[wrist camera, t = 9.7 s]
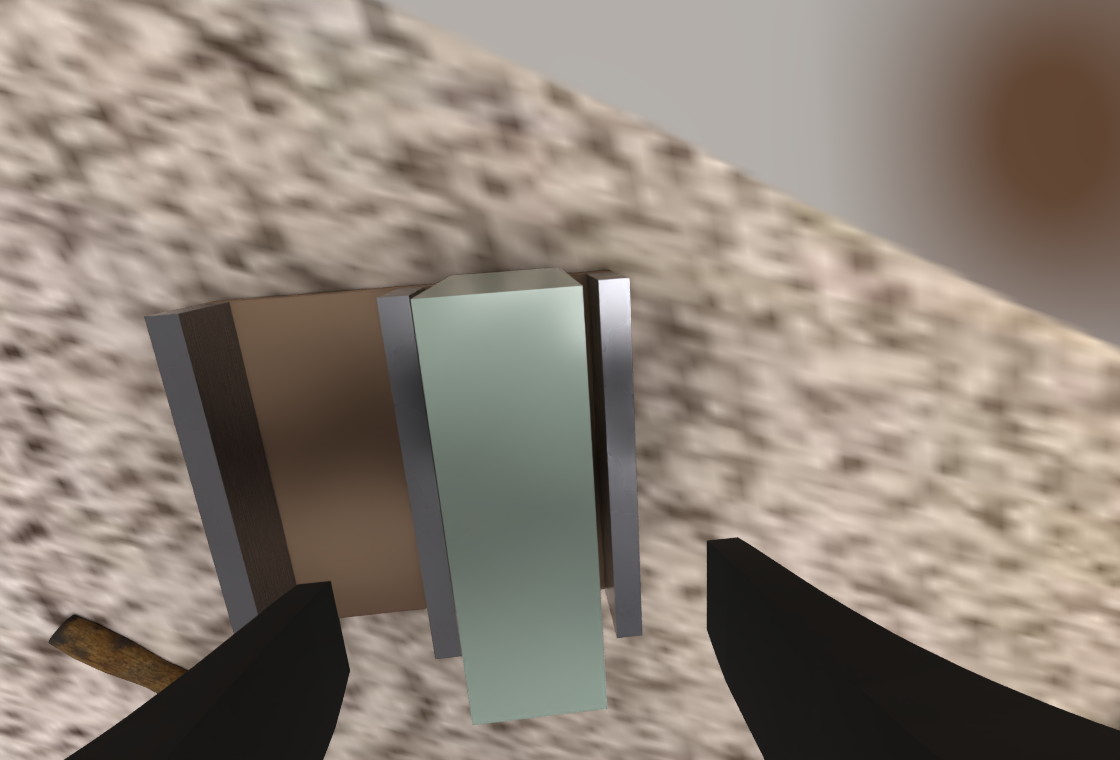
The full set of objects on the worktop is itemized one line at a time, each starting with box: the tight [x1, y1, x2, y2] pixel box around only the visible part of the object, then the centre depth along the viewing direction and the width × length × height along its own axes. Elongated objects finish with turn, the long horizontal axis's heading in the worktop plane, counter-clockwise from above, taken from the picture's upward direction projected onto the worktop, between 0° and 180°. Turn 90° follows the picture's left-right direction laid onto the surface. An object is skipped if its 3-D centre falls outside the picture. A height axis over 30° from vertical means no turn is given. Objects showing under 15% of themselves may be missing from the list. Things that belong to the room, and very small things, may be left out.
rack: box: [144, 270, 642, 659], centre depth 16 cm, size 11×12×3 cm
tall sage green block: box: [411, 267, 607, 725], centre depth 14 cm, size 3×10×6 cm, turn 4°
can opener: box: [49, 615, 187, 694], centre depth 19 cm, size 9×2×1 cm, turn 45°
